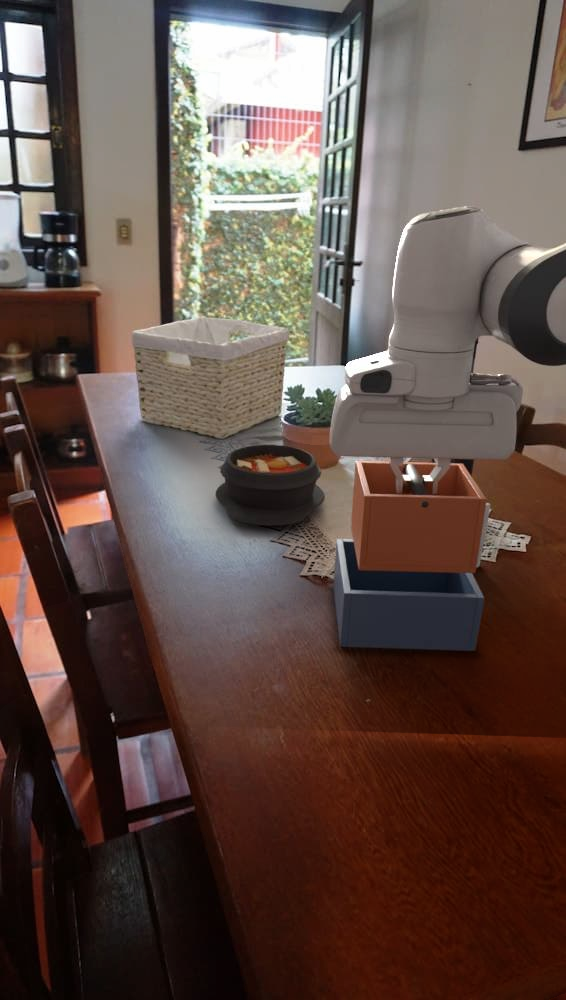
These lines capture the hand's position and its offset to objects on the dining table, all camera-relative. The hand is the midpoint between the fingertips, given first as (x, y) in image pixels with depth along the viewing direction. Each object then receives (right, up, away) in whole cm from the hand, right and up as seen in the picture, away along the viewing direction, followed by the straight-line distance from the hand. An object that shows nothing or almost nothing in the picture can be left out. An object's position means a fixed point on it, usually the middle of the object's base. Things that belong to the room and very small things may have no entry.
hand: (415, 492), depth 78 cm
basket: (-32, +18, +84) cm, 92 cm away
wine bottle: (+14, -2, +42) cm, 44 cm away
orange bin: (0, -7, +3) cm, 7 cm away
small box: (+8, -11, +21) cm, 25 cm away
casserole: (-17, -2, +39) cm, 43 cm away
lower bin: (-1, -16, +7) cm, 17 cm away
